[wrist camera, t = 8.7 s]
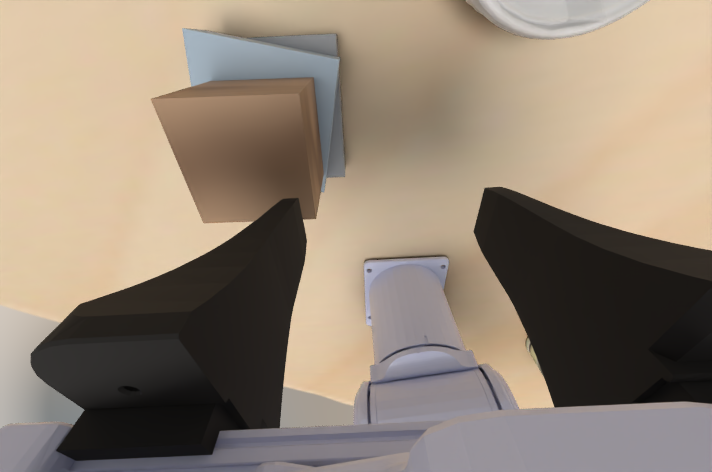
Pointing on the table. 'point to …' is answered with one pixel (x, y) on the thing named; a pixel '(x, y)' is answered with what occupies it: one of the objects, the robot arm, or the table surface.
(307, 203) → the walnut cube
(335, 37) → the tower base
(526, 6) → the ramekin
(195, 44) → the tower top
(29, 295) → the table surface
